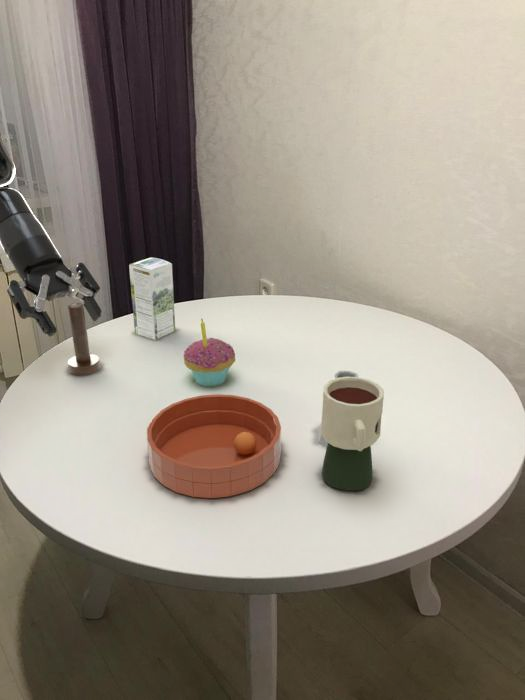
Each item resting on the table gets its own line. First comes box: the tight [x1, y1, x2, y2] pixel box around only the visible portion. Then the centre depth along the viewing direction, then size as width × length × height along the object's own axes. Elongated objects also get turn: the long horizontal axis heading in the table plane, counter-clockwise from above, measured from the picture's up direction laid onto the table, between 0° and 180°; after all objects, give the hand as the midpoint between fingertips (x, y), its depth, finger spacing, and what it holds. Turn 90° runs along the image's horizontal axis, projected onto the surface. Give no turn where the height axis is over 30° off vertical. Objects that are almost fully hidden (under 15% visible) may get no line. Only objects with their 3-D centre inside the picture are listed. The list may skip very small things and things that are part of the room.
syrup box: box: [128, 257, 176, 341], centre depth 112 cm, size 6×6×14 cm
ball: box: [234, 432, 256, 455], centre depth 78 cm, size 3×3×3 cm
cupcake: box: [183, 317, 236, 387], centre depth 96 cm, size 9×8×12 cm
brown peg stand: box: [67, 302, 101, 377], centre depth 99 cm, size 5×5×12 cm
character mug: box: [321, 376, 385, 491], centre depth 72 cm, size 11×7×13 cm, turn 4°
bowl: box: [146, 393, 282, 499], centre depth 77 cm, size 17×17×5 cm
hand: (76, 326), depth 98 cm, fingers open, 8 cm apart
